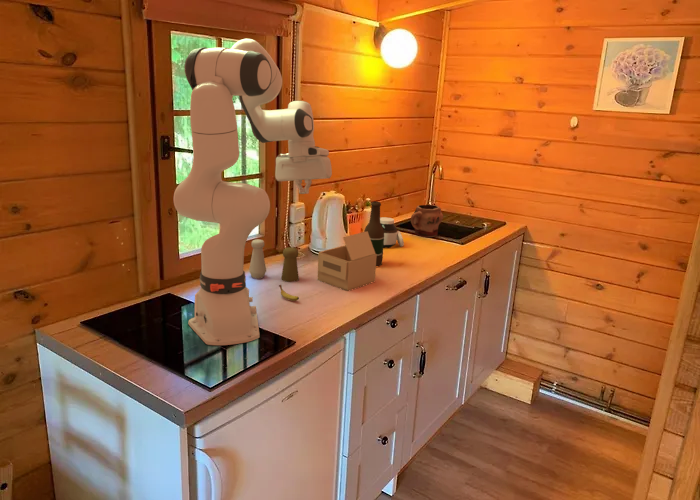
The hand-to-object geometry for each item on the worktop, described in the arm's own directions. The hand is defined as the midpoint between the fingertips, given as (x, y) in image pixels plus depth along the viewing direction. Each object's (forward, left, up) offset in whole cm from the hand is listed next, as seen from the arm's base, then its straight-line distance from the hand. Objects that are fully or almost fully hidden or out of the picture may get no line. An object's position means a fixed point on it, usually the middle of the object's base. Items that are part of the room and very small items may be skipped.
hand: (304, 193), depth 184 cm
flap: (-14, -15, -15) cm, 25 cm away
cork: (-2, +5, -29) cm, 30 cm away
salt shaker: (+3, +15, -29) cm, 33 cm away
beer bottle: (+6, -30, -29) cm, 42 cm away
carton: (-9, -13, -29) cm, 33 cm away
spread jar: (+27, -48, -29) cm, 62 cm away
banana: (-20, +11, -29) cm, 37 cm away
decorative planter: (+38, -72, -29) cm, 86 cm away
